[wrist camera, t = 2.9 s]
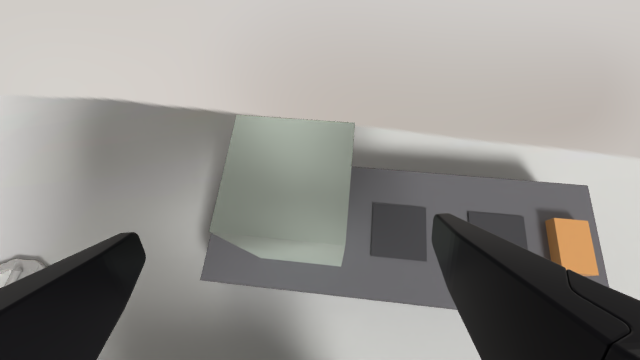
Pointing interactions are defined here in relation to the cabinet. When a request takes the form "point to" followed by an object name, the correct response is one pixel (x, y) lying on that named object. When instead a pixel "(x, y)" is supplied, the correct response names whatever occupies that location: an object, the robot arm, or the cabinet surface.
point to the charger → (286, 189)
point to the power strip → (424, 236)
